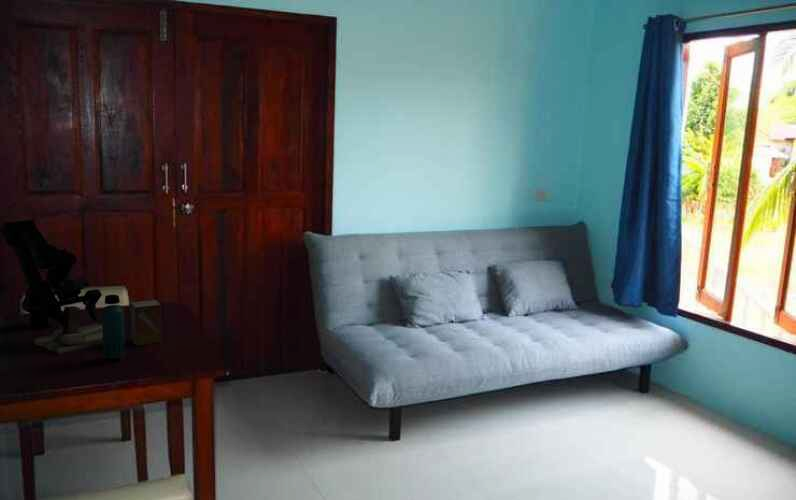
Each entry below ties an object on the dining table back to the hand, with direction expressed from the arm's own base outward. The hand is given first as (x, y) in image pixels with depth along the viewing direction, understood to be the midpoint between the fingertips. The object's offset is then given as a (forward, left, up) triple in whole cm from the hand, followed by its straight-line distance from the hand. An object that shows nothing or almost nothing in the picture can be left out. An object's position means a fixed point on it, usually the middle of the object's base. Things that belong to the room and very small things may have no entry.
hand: (82, 323), depth 220 cm
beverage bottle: (+19, -1, -7) cm, 20 cm away
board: (-5, +2, -7) cm, 9 cm away
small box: (+12, +15, -7) cm, 20 cm away
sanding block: (-2, -3, -5) cm, 7 cm away
